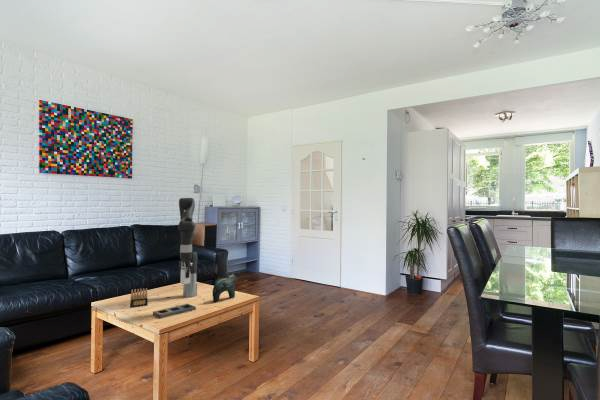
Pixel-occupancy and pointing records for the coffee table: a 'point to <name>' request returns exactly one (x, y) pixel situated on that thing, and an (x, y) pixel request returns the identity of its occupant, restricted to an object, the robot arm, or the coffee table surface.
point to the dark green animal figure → (224, 287)
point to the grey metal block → (184, 277)
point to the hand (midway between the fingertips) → (185, 277)
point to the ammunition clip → (139, 298)
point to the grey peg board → (174, 310)
